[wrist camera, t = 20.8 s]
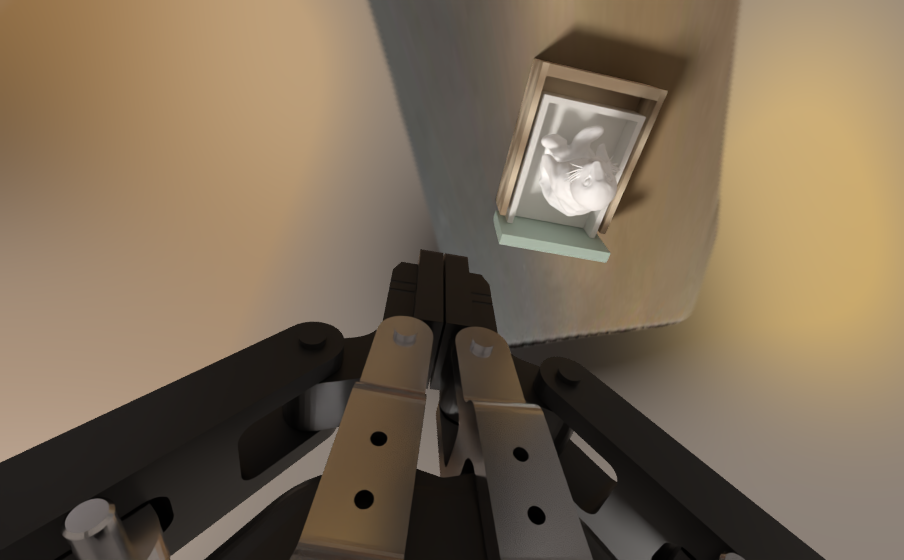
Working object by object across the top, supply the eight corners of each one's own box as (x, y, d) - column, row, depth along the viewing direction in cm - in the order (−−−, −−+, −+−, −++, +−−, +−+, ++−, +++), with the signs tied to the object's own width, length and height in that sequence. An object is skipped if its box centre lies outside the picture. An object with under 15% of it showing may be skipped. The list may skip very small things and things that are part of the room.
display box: (592, 217, 50) (605, 234, 46) (495, 199, 49) (500, 214, 45) (647, 84, 42) (668, 91, 39) (534, 58, 41) (543, 61, 37)
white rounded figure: (538, 206, 47) (564, 257, 37) (532, 129, 42) (560, 163, 32) (594, 196, 46) (636, 245, 36) (594, 117, 42) (642, 148, 32)
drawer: (588, 237, 50) (606, 262, 45) (493, 219, 49) (499, 243, 43) (641, 112, 43) (669, 125, 37) (529, 87, 41) (542, 97, 36)
